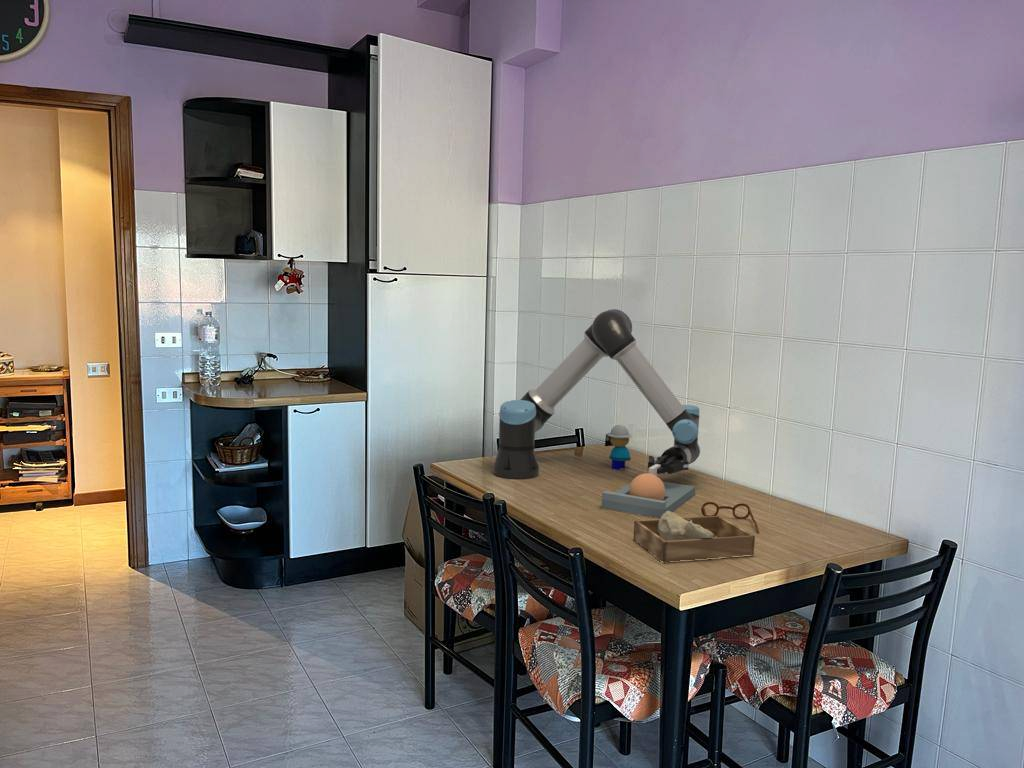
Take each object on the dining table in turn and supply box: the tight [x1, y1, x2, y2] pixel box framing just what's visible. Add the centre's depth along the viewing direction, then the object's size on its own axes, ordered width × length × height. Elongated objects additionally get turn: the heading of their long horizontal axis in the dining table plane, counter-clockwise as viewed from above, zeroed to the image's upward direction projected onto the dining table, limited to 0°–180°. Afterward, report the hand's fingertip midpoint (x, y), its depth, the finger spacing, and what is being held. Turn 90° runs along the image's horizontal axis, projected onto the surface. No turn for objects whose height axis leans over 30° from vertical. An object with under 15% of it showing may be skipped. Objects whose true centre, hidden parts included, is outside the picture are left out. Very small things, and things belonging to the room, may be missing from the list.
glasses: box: [700, 501, 760, 534], centre depth 212 cm, size 13×13×5 cm
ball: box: [629, 472, 665, 501], centre depth 224 cm, size 10×10×10 cm
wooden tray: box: [632, 515, 756, 562], centre depth 192 cm, size 16×23×5 cm
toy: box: [604, 424, 633, 471], centre depth 272 cm, size 8×9×15 cm
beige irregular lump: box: [658, 511, 715, 541], centre depth 191 cm, size 15×7×15 cm
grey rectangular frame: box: [601, 480, 696, 519], centre depth 232 cm, size 30×18×4 cm, turn 151°
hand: (650, 473), depth 231 cm, fingers closed
